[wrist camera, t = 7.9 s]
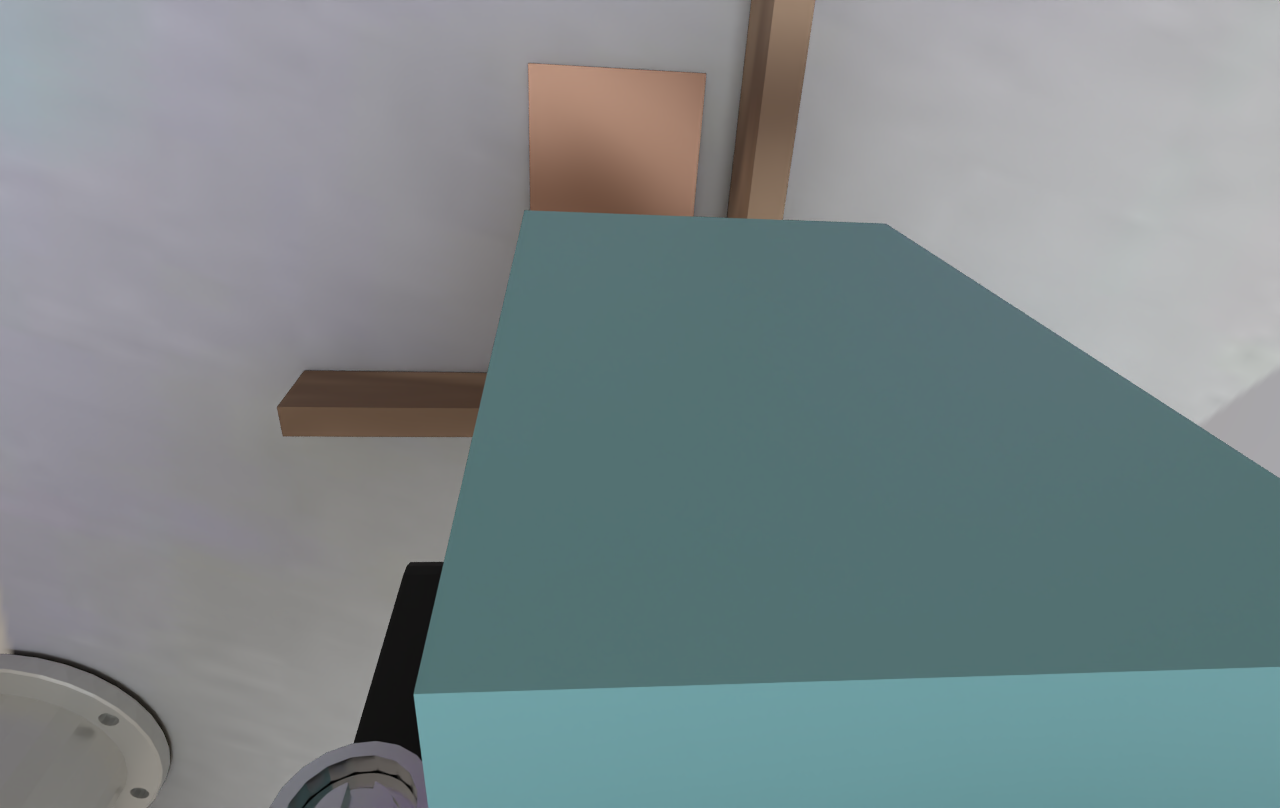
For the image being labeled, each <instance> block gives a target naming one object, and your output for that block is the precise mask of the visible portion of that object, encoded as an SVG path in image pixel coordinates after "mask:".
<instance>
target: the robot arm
mask: <svg viewBox="0 0 1280 808" xmlns="http://www.w3.org/2000/svg"><path fill="white" fill-rule="evenodd" d="M443 564H444V562H410V563H409V564H408V565H407V567H406V570H405V572H404V575H403V578H402V582H401V585H400V588H399V592H398V595H397V598H396V602H395V605H394V609H393V612H392V615H391V619H390V622H389V625H388V629H387V632H386V636H385V639H384V642H383V646H382V649H381V653H380V656H379V659H378V663H377V666H376V669H375V673H374V676H373V680H372V683H371V686H370V690H369V693H368V696H367V700H366V703H365V707H364V710H363V713H362V717H361V720H360V723H359V727H358V730H357V734H356V737H355V740H354V743H353V744H349V745H346V746H344V747H341V748H338V749H335V750H332V751H330V752H327V753H325V754H323V755H322V756H320V757H319V758H317V759H315V760H314V761H312V762H311V763H309V764H307V765H306V766H304V767H303V768H302V769H301V770H300V771H299V772H297V773H296V774H295V775H294V776H293V777H292V778H291V779H290V780H289V781H288V782H287V783H286V784H285V785H284V786H283V787H282V788H281V790H280V792H279V793H278V795H277V796H276V798H275V799H274V801H273V803H272V804H271V806H270V807H269V808H428V802H427V794H426V786H425V779H424V771H423V763H422V756H421V748H420V740H419V732H418V725H417V717H416V709H415V702H414V690H415V686H416V681H417V677H418V673H419V668H420V664H421V659H422V655H423V651H424V646H425V642H426V638H427V633H428V629H429V625H430V620H431V616H432V612H433V607H434V603H435V598H436V594H437V590H438V585H439V581H440V577H441V572H442V568H443ZM169 766H170V751H169V746H168V743H167V741H166V738H165V735H164V733H163V731H162V730H161V728H160V727H159V725H158V724H157V722H156V721H155V719H154V718H153V717H152V715H151V714H150V713H149V712H148V711H147V710H146V709H145V708H144V707H143V706H142V705H141V704H139V703H138V702H137V701H136V700H135V699H134V698H132V697H131V696H129V695H128V694H127V693H125V692H124V691H122V690H121V689H119V688H118V687H117V686H115V685H113V684H111V683H109V682H107V681H105V680H103V679H101V678H99V677H97V676H95V675H93V674H91V673H88V672H85V671H82V670H80V669H77V668H74V667H72V666H69V665H66V664H62V663H58V662H54V661H50V660H46V659H41V658H37V657H29V656H21V655H13V654H0V808H148V806H149V805H150V804H151V803H152V802H153V801H154V800H155V798H156V796H157V794H158V793H159V791H160V789H161V787H162V785H163V783H164V781H165V779H166V777H167V774H168V770H169Z"/></svg>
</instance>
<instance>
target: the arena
mask: <svg viewBox="0 0 1280 808" xmlns="http://www.w3.org/2000/svg"><path fill="white" fill-rule="evenodd" d="M814 6H815V0H751V8H750V17H749V26H748V35H747V44H746V53H745V62H744V70H743V79H742V88H741V97H740V106H739V115H738V124H737V132H736V141H735V150H734V159H733V168H732V177H731V186H730V194H729V203H728V212H727V218H745V219H772V220H783V214H784V207H785V200H786V194H787V187H788V180H789V173H790V167H791V160H792V153H793V147H794V140H795V133H796V126H797V120H798V113H799V106H800V100H801V93H802V86H803V79H804V73H805V66H806V59H807V53H808V46H809V39H810V32H811V26H812V19H813V12H814ZM528 78H529V151H530V211H557V212H584V213H610V214H637V215H664V216H691V217H693V214H694V203H695V192H696V181H697V170H698V159H699V148H700V137H701V126H702V115H703V104H704V93H705V82H706V73H690V72H673V71H656V70H638V69H621V68H604V67H587V66H570V65H553V64H535V63H528ZM486 376H487V373H457V372H379V371H304V372H303V373H302V374H301V376H300V377H299V378H298V380H297V381H296V382H295V384H294V385H293V386H292V388H291V389H290V390H289V392H288V393H287V394H286V396H285V397H284V398H283V400H282V401H281V402H280V404H279V405H278V406H277V410H278V415H279V420H280V425H281V430H282V434H283V436H334V437H473V433H474V429H475V424H476V420H477V416H478V411H479V407H480V402H481V398H482V394H483V389H484V385H485V381H486Z"/></svg>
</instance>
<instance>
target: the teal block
mask: <svg viewBox="0 0 1280 808" xmlns="http://www.w3.org/2000/svg"><path fill="white" fill-rule="evenodd" d="M414 702H415V709H416V717H417V725H418V732H419V740H420V748H421V756H422V763H423V771H424V779H425V786H426V794H427V802H428V808H1280V478H1278V477H1277V476H1275V475H1274V474H1272V473H1271V472H1269V471H1268V470H1266V469H1264V468H1263V467H1261V466H1260V465H1258V464H1257V463H1255V462H1253V461H1252V460H1250V459H1249V458H1247V457H1246V456H1244V455H1243V454H1241V453H1240V452H1238V451H1237V450H1235V449H1234V448H1232V447H1230V446H1229V445H1227V444H1226V443H1224V442H1223V441H1221V440H1220V439H1218V438H1217V437H1215V436H1213V435H1212V434H1210V433H1209V432H1207V431H1206V430H1204V429H1203V428H1201V427H1200V426H1198V425H1196V424H1195V423H1193V422H1192V421H1190V420H1189V419H1187V418H1186V417H1184V416H1183V415H1181V414H1179V413H1178V412H1176V411H1175V410H1173V409H1172V408H1170V407H1169V406H1167V405H1166V404H1164V403H1162V402H1161V401H1159V400H1158V399H1156V398H1155V397H1153V396H1152V395H1150V394H1148V393H1147V392H1145V391H1144V390H1142V389H1141V388H1139V387H1138V386H1136V385H1135V384H1133V383H1131V382H1130V381H1128V380H1127V379H1125V378H1124V377H1122V376H1121V375H1119V374H1118V373H1116V372H1114V371H1113V370H1111V369H1110V368H1108V367H1107V366H1105V365H1104V364H1102V363H1101V362H1099V361H1097V360H1096V359H1094V358H1093V357H1091V356H1090V355H1088V354H1087V353H1085V352H1084V351H1082V350H1080V349H1079V348H1077V347H1076V346H1074V345H1073V344H1071V343H1070V342H1068V341H1067V340H1065V339H1063V338H1062V337H1060V336H1059V335H1057V334H1056V333H1054V332H1053V331H1051V330H1050V329H1048V328H1046V327H1045V326H1043V325H1042V324H1040V323H1039V322H1037V321H1036V320H1034V319H1032V318H1031V317H1029V316H1028V315H1026V314H1025V313H1023V312H1022V311H1020V310H1019V309H1017V308H1015V307H1014V306H1012V305H1011V304H1009V303H1008V302H1006V301H1005V300H1003V299H1002V298H1000V297H998V296H997V295H995V294H994V293H992V292H991V291H989V290H988V289H986V288H985V287H983V286H981V285H980V284H978V283H977V282H975V281H974V280H972V279H971V278H969V277H968V276H966V275H964V274H963V273H961V272H960V271H958V270H957V269H955V268H954V267H952V266H951V265H949V264H947V263H946V262H944V261H943V260H941V259H940V258H938V257H937V256H935V255H934V254H932V253H930V252H929V251H927V250H926V249H924V248H923V247H921V246H920V245H918V244H917V243H915V242H913V241H912V240H910V239H909V238H907V237H906V236H904V235H903V234H901V233H899V232H898V231H896V230H895V229H893V228H892V227H890V226H889V225H887V224H880V223H853V222H826V221H799V220H772V219H745V218H718V217H691V216H664V215H637V214H610V213H584V212H557V211H530V210H525V211H524V215H523V219H522V224H521V228H520V233H519V237H518V241H517V246H516V250H515V254H514V259H513V263H512V267H511V272H510V276H509V280H508V285H507V289H506V294H505V298H504V302H503V307H502V311H501V315H500V320H499V324H498V328H497V333H496V337H495V341H494V346H493V350H492V355H491V359H490V363H489V368H488V372H487V376H486V381H485V385H484V389H483V394H482V398H481V402H480V407H479V411H478V416H477V420H476V424H475V429H474V433H473V437H472V442H471V446H470V450H469V455H468V459H467V463H466V468H465V472H464V477H463V481H462V485H461V490H460V494H459V498H458V503H457V507H456V511H455V516H454V520H453V524H452V529H451V533H450V538H449V542H448V546H447V551H446V555H445V559H444V564H443V568H442V572H441V577H440V581H439V585H438V590H437V594H436V598H435V603H434V607H433V612H432V616H431V620H430V625H429V629H428V633H427V638H426V642H425V646H424V651H423V655H422V659H421V664H420V668H419V673H418V677H417V681H416V686H415V690H414Z"/></svg>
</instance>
